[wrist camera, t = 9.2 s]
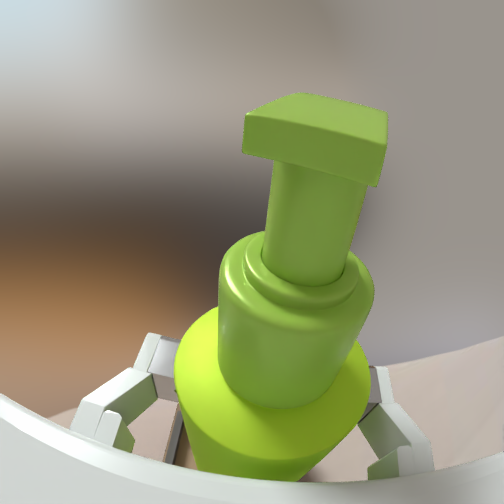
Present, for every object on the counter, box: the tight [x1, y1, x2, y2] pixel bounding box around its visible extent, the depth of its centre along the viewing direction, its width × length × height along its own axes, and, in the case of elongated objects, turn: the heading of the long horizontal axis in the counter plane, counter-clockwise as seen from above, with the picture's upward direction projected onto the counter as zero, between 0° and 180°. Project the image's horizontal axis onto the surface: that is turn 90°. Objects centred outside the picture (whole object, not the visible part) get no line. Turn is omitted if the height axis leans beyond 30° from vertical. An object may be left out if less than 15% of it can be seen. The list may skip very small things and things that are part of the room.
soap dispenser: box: [174, 93, 388, 482], centre depth 11 cm, size 6×7×20 cm
